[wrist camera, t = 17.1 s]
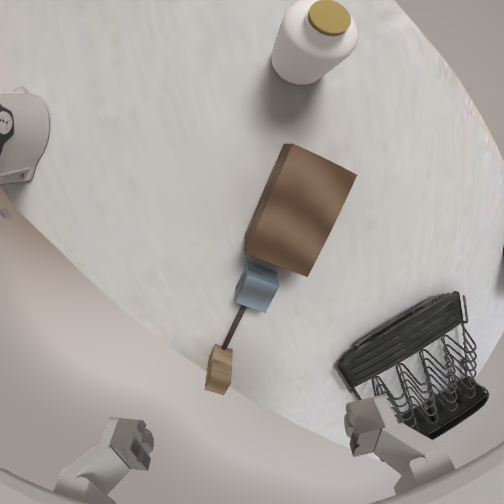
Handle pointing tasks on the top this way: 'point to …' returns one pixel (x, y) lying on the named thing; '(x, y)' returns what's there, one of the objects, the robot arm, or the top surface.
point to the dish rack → (410, 342)
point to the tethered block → (248, 295)
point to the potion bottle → (313, 40)
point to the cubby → (297, 209)
